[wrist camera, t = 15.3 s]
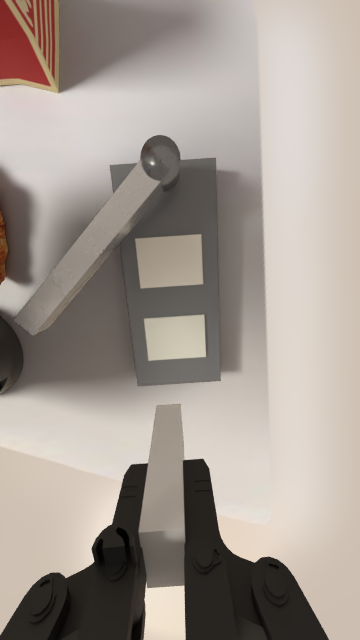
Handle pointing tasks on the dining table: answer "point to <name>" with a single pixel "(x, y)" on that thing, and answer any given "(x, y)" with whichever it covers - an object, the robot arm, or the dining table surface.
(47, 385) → the dining table surface
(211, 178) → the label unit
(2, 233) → the croissant
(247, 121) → the dining table surface
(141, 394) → the dining table surface
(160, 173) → the swing arm
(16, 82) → the milk carton
